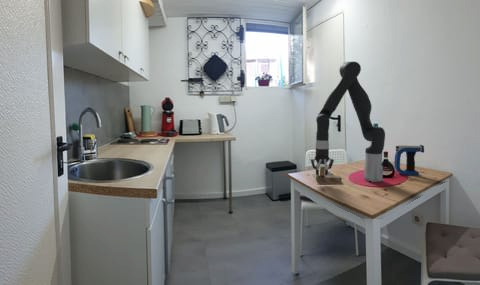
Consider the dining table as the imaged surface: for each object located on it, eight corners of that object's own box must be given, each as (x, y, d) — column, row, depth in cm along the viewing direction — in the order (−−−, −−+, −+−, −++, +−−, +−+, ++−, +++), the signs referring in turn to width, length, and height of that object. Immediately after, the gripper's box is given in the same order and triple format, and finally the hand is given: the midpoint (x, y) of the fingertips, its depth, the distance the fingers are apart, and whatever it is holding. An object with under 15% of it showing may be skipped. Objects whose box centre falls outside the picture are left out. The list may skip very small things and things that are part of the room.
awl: (323, 180, 163) (324, 166, 162) (324, 182, 160) (325, 167, 159) (319, 180, 163) (320, 166, 162) (319, 181, 161) (320, 167, 159)
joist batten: (339, 180, 163) (339, 175, 163) (341, 182, 158) (341, 177, 158) (315, 180, 165) (315, 175, 164) (317, 182, 160) (317, 177, 159)
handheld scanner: (423, 175, 172) (425, 145, 170) (395, 175, 175) (397, 145, 173) (419, 174, 176) (421, 144, 174) (393, 173, 180) (394, 144, 177)
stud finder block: (330, 176, 172) (330, 170, 171) (333, 179, 165) (333, 172, 164) (322, 176, 173) (322, 170, 172) (324, 179, 166) (324, 172, 165)
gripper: (311, 148, 156) (310, 177, 158) (336, 148, 155) (335, 177, 157) (309, 146, 163) (308, 173, 166) (332, 146, 162) (332, 173, 164)
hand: (321, 175), depth 161 cm, fingers open, 4 cm apart
